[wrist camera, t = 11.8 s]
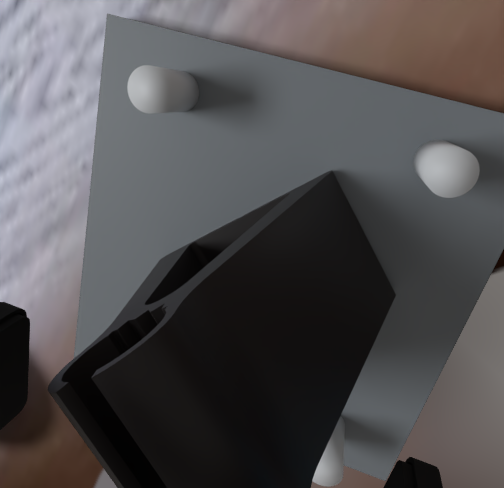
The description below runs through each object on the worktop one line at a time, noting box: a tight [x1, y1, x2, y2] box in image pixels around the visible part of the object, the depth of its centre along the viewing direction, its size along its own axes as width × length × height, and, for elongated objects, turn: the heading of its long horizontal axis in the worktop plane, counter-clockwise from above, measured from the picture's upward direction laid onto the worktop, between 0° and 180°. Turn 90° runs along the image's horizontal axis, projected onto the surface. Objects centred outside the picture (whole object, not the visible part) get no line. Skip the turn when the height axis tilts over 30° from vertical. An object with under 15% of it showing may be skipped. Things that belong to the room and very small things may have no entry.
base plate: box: [74, 14, 504, 486], centre depth 18 cm, size 18×18×4 cm
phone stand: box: [48, 170, 396, 488], centre depth 14 cm, size 9×6×12 cm, turn 120°
